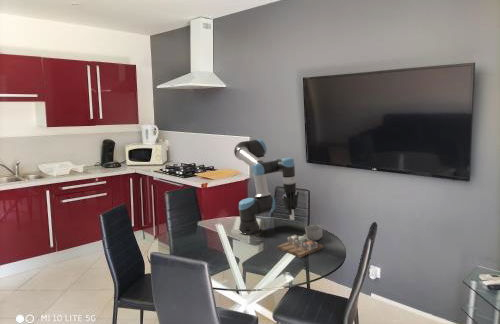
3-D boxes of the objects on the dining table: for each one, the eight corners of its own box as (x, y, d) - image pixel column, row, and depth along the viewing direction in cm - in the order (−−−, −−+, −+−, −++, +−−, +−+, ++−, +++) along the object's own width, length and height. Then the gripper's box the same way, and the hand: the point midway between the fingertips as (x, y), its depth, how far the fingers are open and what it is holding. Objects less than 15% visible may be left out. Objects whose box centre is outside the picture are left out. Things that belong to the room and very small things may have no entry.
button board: (277, 248, 231) (277, 241, 230) (300, 239, 242) (299, 232, 241) (300, 257, 215) (299, 249, 214) (322, 247, 226) (322, 240, 225)
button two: (297, 242, 229) (297, 237, 229) (302, 240, 232) (301, 235, 231) (301, 243, 226) (301, 238, 226) (306, 241, 228) (306, 237, 228)
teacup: (322, 242, 234) (321, 230, 233) (305, 242, 237) (304, 230, 235) (322, 234, 248) (322, 222, 247) (306, 234, 250) (305, 223, 249)
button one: (290, 241, 235) (289, 237, 235) (294, 239, 238) (294, 235, 237) (294, 243, 232) (293, 238, 232) (298, 241, 234) (298, 236, 234)
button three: (305, 247, 224) (305, 242, 223) (310, 245, 226) (309, 240, 226) (310, 249, 221) (309, 244, 220) (315, 247, 223) (314, 242, 222)
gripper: (285, 186, 222) (288, 223, 226) (301, 181, 230) (303, 217, 234) (277, 184, 228) (280, 220, 232) (293, 180, 236) (295, 215, 240)
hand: (292, 219), depth 233 cm, fingers closed
